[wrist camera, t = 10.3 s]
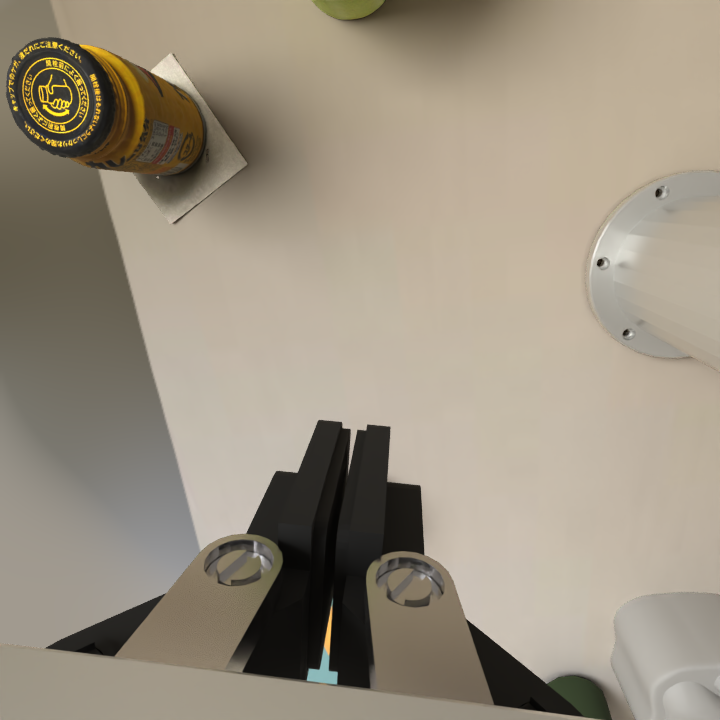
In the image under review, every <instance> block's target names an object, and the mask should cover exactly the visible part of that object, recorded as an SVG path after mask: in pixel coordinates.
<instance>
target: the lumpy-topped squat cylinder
mask: <svg viewBox="0 0 720 720" xmlns="http://www.w3.org/2000/svg"><path fill="white" fill-rule="evenodd" d="M614 629H615V645H614V648H613V652H612V656H611V666H612V668H613V670H614V673H615V675H616V677H617V680H618V682H619V684H620V686H621V689H622V691H623V693H624V695H625V698H626V700H627V702H628V704H629V707H630V709H631V711H632V714H633V716H634V718H635V720H720V595H719V594H712V593H694V592H678V593H664V594H651V595H645V596H641V597H637V598H635V599H632V600H630V601H628V602H627V603H625V604H624V605H622V606H621V607H620V608H619V609H618V611H617V612H616V614H615V617H614Z"/></svg>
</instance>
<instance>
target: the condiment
mask: <svg viewBox="0 0 720 720" xmlns="http://www.w3.org/2000/svg"><path fill="white" fill-rule="evenodd" d="M6 87H7V92H6V96H7V100H8V103H9V106H10V109H11V112H12V115H13V118H14V120H15V122H16V124H17V126H18V127H19V128H20V129H21V130H22V131H23V132H24V134H25V135H26V136H27V137H28V138H29V139H30V140H31V141H32V142H33V143H35V144H36V145H37V146H39V148H41V149H42V150H46V151H48V152H50V153H51V154H53V155H59V156H60V157H65V158H66V157H67V158H70V159H71V160H73V161H75V162H77V163H79V164H81V165H83V166H87V167H91V168H96V169H104V170H114V171H124V172H133V174H134V175H135V176H136V178H137V179H138V181H139V183H140V184H141V185H142V186H143V188H144V189H145V190H146V191H147V193H148V195H149V196H150V197H151V198H152V199H153V201H154V202H155V204H156V205H157V206H158V208H159V209H160V211H161V212H162V214H163V215H164V216H165V218H166V219H167V220H168V222H169V223H170V224H172V223H173V222H174V221H176V220H177V219H178V218H180V217H181V216H183V215H184V214H185V213H186V212H188V211H189V210H190V209H192V208H193V207H194V206H195V205H197V204H198V203H199V202H201V201H202V200H203V199H204V198H206V197H207V196H208V195H210V194H211V193H212V192H213V191H215V190H216V189H217V188H218V187H220V186H221V185H222V184H223V183H225V182H226V181H227V180H229V179H230V178H231V177H232V176H234V175H235V174H236V173H237V172H238V171H240V170H241V169H242V168H244V167H245V166H246V165H247V162H246V161H245V159H244V158H243V157H242V155H241V154H240V152H239V151H238V149H237V148H236V146H235V145H234V143H233V142H232V141H231V139H230V138H229V136H228V135H227V134H226V132H225V131H224V129H223V128H222V126H221V125H220V123H219V122H218V120H217V119H216V117H215V116H214V114H213V113H212V111H211V110H210V108H209V107H208V105H207V104H206V102H205V101H204V100H203V98H202V97H201V95H200V94H199V92H198V91H197V89H196V88H195V87H194V85H193V84H192V82H191V81H190V79H189V78H188V76H187V75H186V74H185V72H184V71H183V69H182V68H181V66H180V65H179V63H178V62H177V61H176V59H175V58H174V56H173V55H172V54H171V53H170V54H169V55H168V56H167V57H165V58H164V59H163V60H162V61H161V62H160V63H159V64H158V65H157V66H156V67H155V68H153V69H152V70H151V72H149V71H147V70H146V69H144V68H142V67H140V66H137V65H135V64H133V63H131V62H129V61H128V60H126V59H123V58H121V57H120V56H117V55H115V54H113V53H111V52H109V51H107V50H104V49H102V48H98V47H94V46H89V45H78V44H75V43H71V42H70V41H69V40H64V39H60V38H50V37H49V38H41V39H37V40H34V41H32V42H30V43H28V44H27V45H26V46H25V47H24V48H23V49H21V50H20V51H19V52H18V53H17V54H16V55H15V56H14V57H13V58H12V63H11V65H10V67H9V70H8V73H7V86H6ZM207 149H209V152H208V156H209V161H208V162H207V161H206V155H207V154H206V150H207ZM157 176H159V179H157V178H156V177H157Z"/></svg>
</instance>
